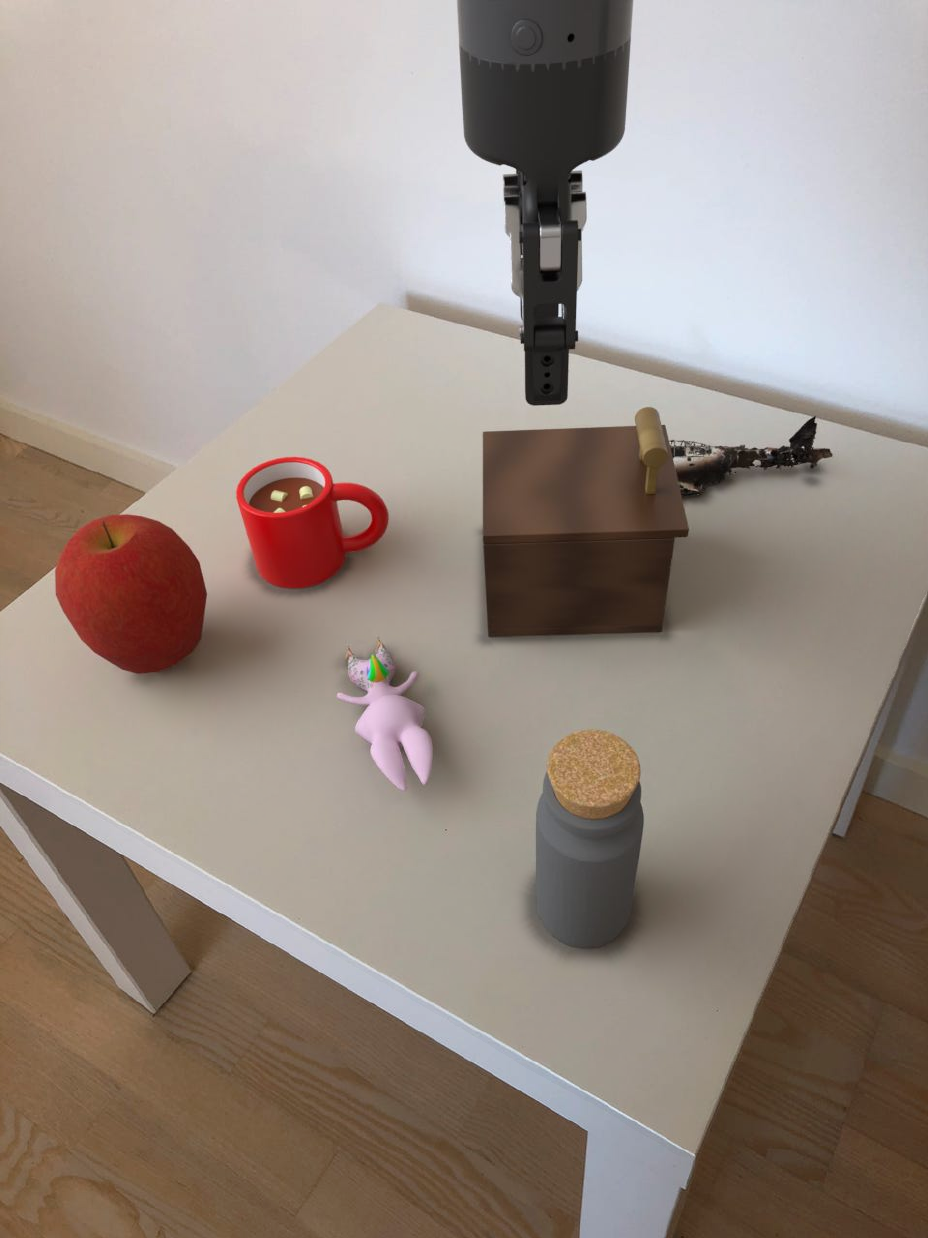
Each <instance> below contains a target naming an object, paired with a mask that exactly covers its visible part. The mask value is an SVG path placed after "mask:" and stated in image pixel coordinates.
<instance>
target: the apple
mask: <svg viewBox="0 0 928 1238" xmlns="http://www.w3.org/2000/svg"><path fill="white" fill-rule="evenodd" d="M54 582H55V598H56V599H57V601H58V603H59V606H60V608H61V610H62V612H63V613H64V615H65V617H66V619H67V620H68V622H69V623H70V624H71V626H72V628H73V630H74V631H75V632H76V634H77V636H78V637H79V639H80V641H82V642H83V643H84V644H85V645H86V646H87V647H88V648H89V650H91V651H92V652H93V653H94V654H96V655H98V656H99V657H101V658H102V659H104V660H105V661H107V662H109V663H110V664H112V665H114V666H115V667H117V668H118V669H120V670H122V671H126V672H128V673H129V672H130V673H133V674H137V675H143V674H154V673H160V672H163V671H165V670H167V669H171V668H173V667H174V666H176V665H177V664H179V663H180V662H182V661H183V660H184V659H186V658H187V657H189V656H190V655H191V654H193V652H194V651H195V649H196V648H197V646H198V645H199V644H200V641H201V640H202V635H203V627H204V619H205V613H206V607H207V604H206V603H207V597H208V596H207V595H208V592H207V588H206V583H205V578H204V575H203V570H202V565H201V562H200V561H199V559H198V558H197V556H196V555H195V553H194V552H193V550H192V548H191V547H190V546H189V545H188V544H187V542H185V540H183V539H182V537H181V536H180V535H179V534H178V533H177V532H176V531H175V530H174V529H173V528H171V527H170V526H168V525H166V524H164V523H163V522H161V521H160V520H157V519H153V518H151V517H150V518H149V517H146V516H143V515H135V514H127V513H126V514H110V515H106V516H103V517H100V518H95V519H93V520H91V521H90V522H88V523H87V524H85V525H83V526H82V527H80V528H79V529H78V530H77V531H76V532H75V533H74V534H73V535H72V536H71V538H69V540H68V541H67V543H66V544H65V546H64V548H63V550H61V553H60V555H59V558H58V561H57V563H56V566H55V569H54Z"/></svg>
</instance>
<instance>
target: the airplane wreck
mask: <svg viewBox="0 0 928 1238" xmlns="http://www.w3.org/2000/svg"><path fill="white" fill-rule="evenodd" d="M816 419H817V416H816V415H814V416H813V417H811V418H810V419H808V420H807V421H806V422H805V423H803V425H802V426H801V427H799V429H798V430H797V431H795V433H794V434H793V435H792V436H791V437H790V438H789V439H788V442H789V445H787V446H786V445H782V446H780V447H772V446H771V447H769V446H766V447H764V448H757V447H752V448H749V447H746V444H739V445H737V446H727V445H719V446H717V445H710V444H705V443H701V442H697V441H693V440H692V441H691V440H690V441H688V440H684V439H682V440H675V439H671V440H669V443H670V442H671V443H670V448H671V452H672V457H673V461H674V465H675V470H676V474H677V479H678V483H679V487H680V492H681V496H682V497H683V496H686V497H691V496H701V494H703V493H704V492H705V491H707V489H706V488H705V487H707V486H708V485H710V484H712V485H714V484H715V483H716V482H717V483H719V484H720V483H721V482H723V481H724V480H725V478H726V474H727V473H728V474H729V476H732V475H733V474H737V473H738V471H737V470H736V471H733V470H732V469H740V468H741V469H746V470H751V467H754V468H762V470H763V471H766V470H767V469H768V468H773V467H775V469H776V470H778V469H779V470H781V469H782V466H783V468H786V467H787V468H790V469H793V468H794V466H798V465H802V464H809V467H810V469H814V468H816V467H817V466H818V462H819V461H821V460H822V459H828V458H833V455H834V454H833V453H832V452H831V448H828V447H827V448H826V447H820V448H819V447H817V448H814V446H813V445H814V443H815V441H814V440H815V439H816V434H817V429H818V428H817V427H818V423H817V422H816ZM676 442H678V443H680V445H676ZM672 444H673V445H672ZM683 444H684V445H683ZM696 444H699V445H696ZM756 461H758V462H760V464H757V465H756V464H754V462H756ZM732 473H733V474H732Z"/></svg>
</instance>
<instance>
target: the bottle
mask: <svg viewBox="0 0 928 1238" xmlns="http://www.w3.org/2000/svg"><path fill="white" fill-rule="evenodd" d="M641 771H642V770H641V762H640V759H639V757H638V755H637V753H636V751H635V750H634V749H633V747H632V746H631V745H630V744H629V743H628V742H627V741H626V740H624V739H623V738H622V737H620V736H619V735H616V734H615V733H612V732H608V731H606V730H601V729H582V730H579V731H575V732H572V733H569V734H567V735H566V736H564V737H562V738H561V739H560V740H559V741H558V742H557V743H556V744H555V745H554V746H553V747H552V749H551V750H550V752H549V755H548V758H547V764H546V772H545V775H544V777H543V783H542V793H541V794H540V796H539V799H538V802H537V805H536V813H535V899H536V900H535V901H536V909H537V914H538V916H539V919H540V922H541V924H542V925H543V927H544V928H545V930H546V931H547V932H548V933H549V934H550V935H551V936H552V937H554V938H555V939H556V940H558V941H559V942H561V943H563V944H565V945H568V946H571V947H574V948H579V949H580V948H581V949H593V948H598V947H601V946H604V945H606V944H608V943H610V942H612V941H613V940H615V939H616V938H617V937H618V936H619V935H620V934H621V933H622V932H623V930H624V928H625V927H626V925H627V923H628V920H629V918H630V915H631V909H632V904H633V898H634V892H635V888H636V887H635V885H636V879H637V875H638V867H639V860H640V855H641V848H642V841H643V834H644V826H645V824H644V823H645V815H644V810H643V806H642V803H641V800H642V784H641Z"/></svg>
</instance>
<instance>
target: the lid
mask: <svg viewBox="0 0 928 1238" xmlns="http://www.w3.org/2000/svg"><path fill="white" fill-rule="evenodd" d="M634 424H635V425H622V426H621V425H620V426H619V425H618V426H596V427H595V426H594V427H592V426H591V427H572V428H571V427H568V428H566V427H565V428H544V429H543V428H542V429H518V430H517V429H516V430H492V431H491V430H490V431H488V430H487V431H483V432H482V544H483V543H484V544H493V543H525V542H556V541H587V540H618V539H649V538H675V539H677V538H688V537H689V532H690V526H689V523H688V518H687V514H686V510H685V509H686V508H685V504H684V501H683V496H681V492H680V487H679V483H678V479H677V474H676V470H675V465H674V461H673V457H672V452H671V448H670V445H671V443H670V442H669V441H670V439H669V435H668V432H667V426H666V425H665V424H662V421H661V416H660V413H659V411H658V410H657V409H656V408H654V407H652V406H644V407H642V408H639V410H637V412H636V414H635V415H634Z"/></svg>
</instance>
